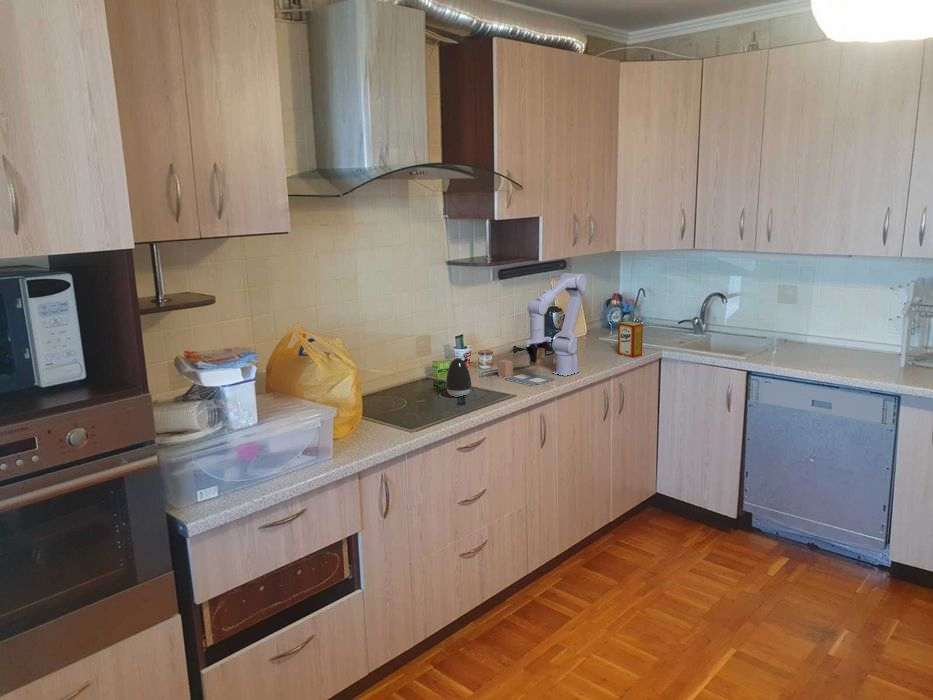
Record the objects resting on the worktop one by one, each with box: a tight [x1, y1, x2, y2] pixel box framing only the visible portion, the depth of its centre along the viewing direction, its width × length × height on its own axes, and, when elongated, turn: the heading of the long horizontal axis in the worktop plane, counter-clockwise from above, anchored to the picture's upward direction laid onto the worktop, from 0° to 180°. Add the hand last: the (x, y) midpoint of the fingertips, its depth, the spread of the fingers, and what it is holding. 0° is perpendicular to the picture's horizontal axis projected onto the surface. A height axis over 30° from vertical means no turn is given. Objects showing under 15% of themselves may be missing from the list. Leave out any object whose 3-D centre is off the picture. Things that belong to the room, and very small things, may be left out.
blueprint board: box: [504, 372, 556, 385], centre depth 302 cm, size 14×16×1 cm
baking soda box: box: [617, 320, 644, 359], centre depth 341 cm, size 10×6×16 cm
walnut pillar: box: [528, 347, 546, 368], centre depth 296 cm, size 4×4×7 cm
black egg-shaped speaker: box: [445, 358, 472, 398], centre depth 279 cm, size 10×10×15 cm
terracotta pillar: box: [497, 359, 514, 377], centre depth 307 cm, size 4×4×7 cm
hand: (537, 360), depth 297 cm, fingers closed on walnut pillar, 4 cm apart
